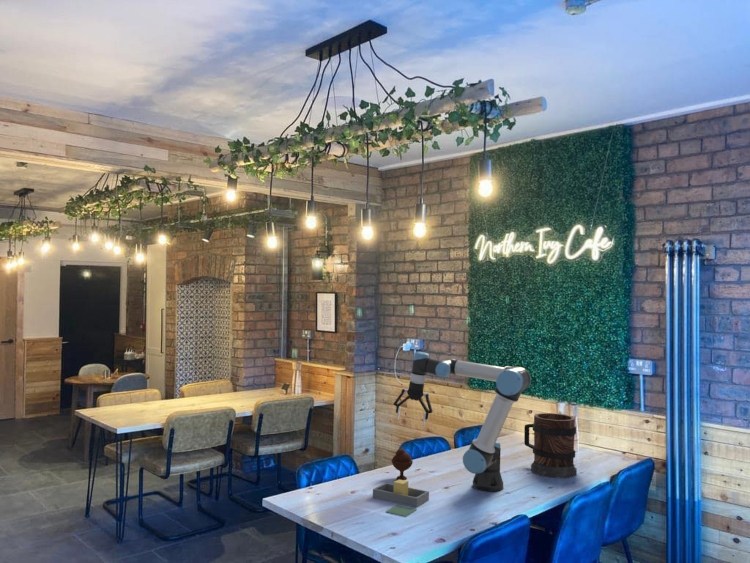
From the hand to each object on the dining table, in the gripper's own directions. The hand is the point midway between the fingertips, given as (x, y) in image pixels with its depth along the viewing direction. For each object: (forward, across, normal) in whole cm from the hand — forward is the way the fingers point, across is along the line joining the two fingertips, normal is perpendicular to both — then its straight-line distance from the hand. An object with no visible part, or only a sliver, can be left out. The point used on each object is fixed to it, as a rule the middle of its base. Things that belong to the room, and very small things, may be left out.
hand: (410, 422), depth 318 cm
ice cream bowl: (+30, 0, 0) cm, 30 cm away
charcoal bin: (+27, -6, +33) cm, 44 cm away
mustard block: (+27, -6, +33) cm, 43 cm away
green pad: (+26, -9, +49) cm, 56 cm away
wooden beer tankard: (+21, -75, -39) cm, 87 cm away
